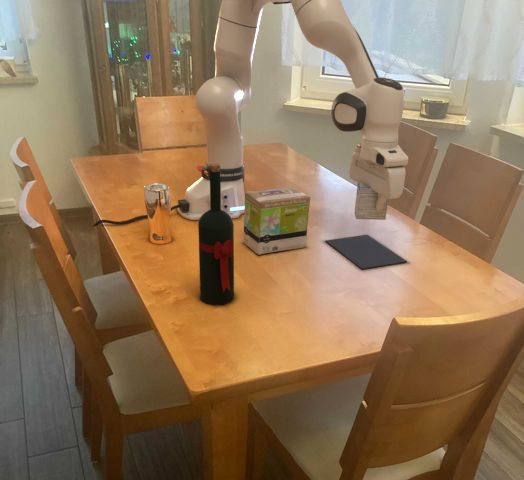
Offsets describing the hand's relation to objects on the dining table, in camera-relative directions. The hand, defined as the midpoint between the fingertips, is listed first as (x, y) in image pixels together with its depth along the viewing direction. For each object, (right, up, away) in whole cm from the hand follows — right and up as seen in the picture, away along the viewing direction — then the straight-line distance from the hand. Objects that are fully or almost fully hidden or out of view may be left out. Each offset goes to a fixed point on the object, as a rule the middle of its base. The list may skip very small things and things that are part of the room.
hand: (371, 205), depth 144 cm
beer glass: (-57, -7, +10) cm, 59 cm away
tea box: (-25, -9, +9) cm, 28 cm away
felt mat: (0, -11, +7) cm, 13 cm away
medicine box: (0, -3, +2) cm, 4 cm away
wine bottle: (-39, -27, -19) cm, 51 cm away
